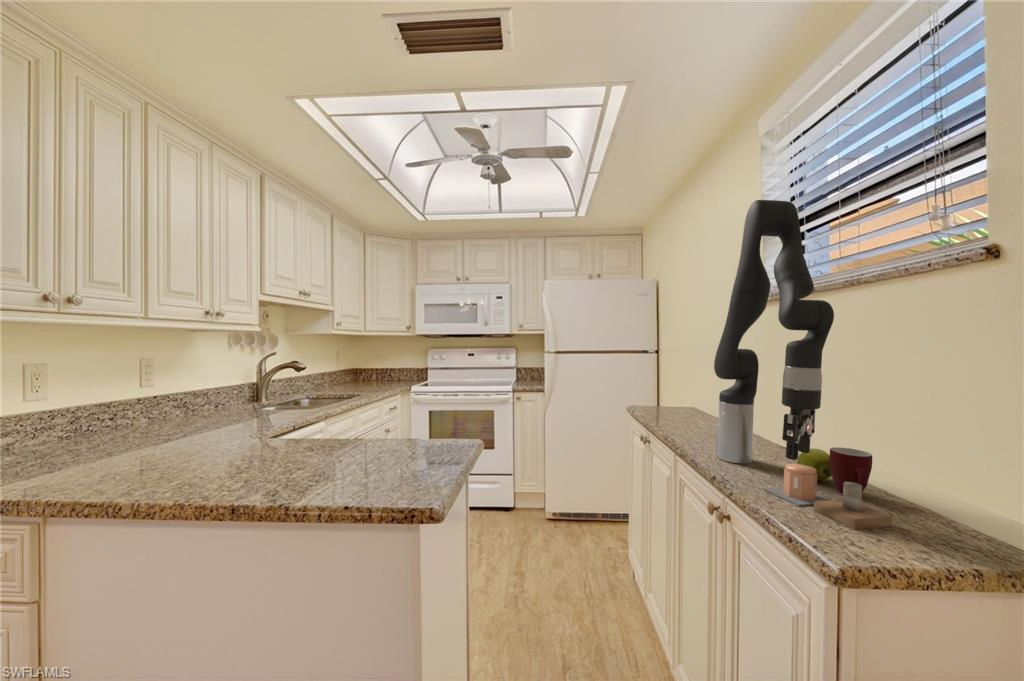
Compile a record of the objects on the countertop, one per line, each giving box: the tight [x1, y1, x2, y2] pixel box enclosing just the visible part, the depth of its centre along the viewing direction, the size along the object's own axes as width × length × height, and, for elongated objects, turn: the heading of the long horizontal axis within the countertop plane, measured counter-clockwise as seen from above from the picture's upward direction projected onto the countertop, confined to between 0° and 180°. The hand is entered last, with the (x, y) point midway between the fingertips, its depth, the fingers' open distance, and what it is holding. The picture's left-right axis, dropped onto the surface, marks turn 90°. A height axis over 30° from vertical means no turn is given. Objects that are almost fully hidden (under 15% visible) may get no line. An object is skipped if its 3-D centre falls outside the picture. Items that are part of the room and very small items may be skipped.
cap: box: [783, 463, 818, 500], centre depth 101 cm, size 6×6×6 cm
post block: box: [813, 482, 893, 530], centre depth 90 cm, size 9×9×7 cm
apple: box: [796, 448, 832, 481], centre depth 114 cm, size 8×9×8 cm
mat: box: [763, 486, 831, 507], centre depth 101 cm, size 10×10×1 cm
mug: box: [829, 447, 873, 495], centre depth 103 cm, size 10×8×10 cm
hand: (797, 455), depth 102 cm, fingers open, 8 cm apart
